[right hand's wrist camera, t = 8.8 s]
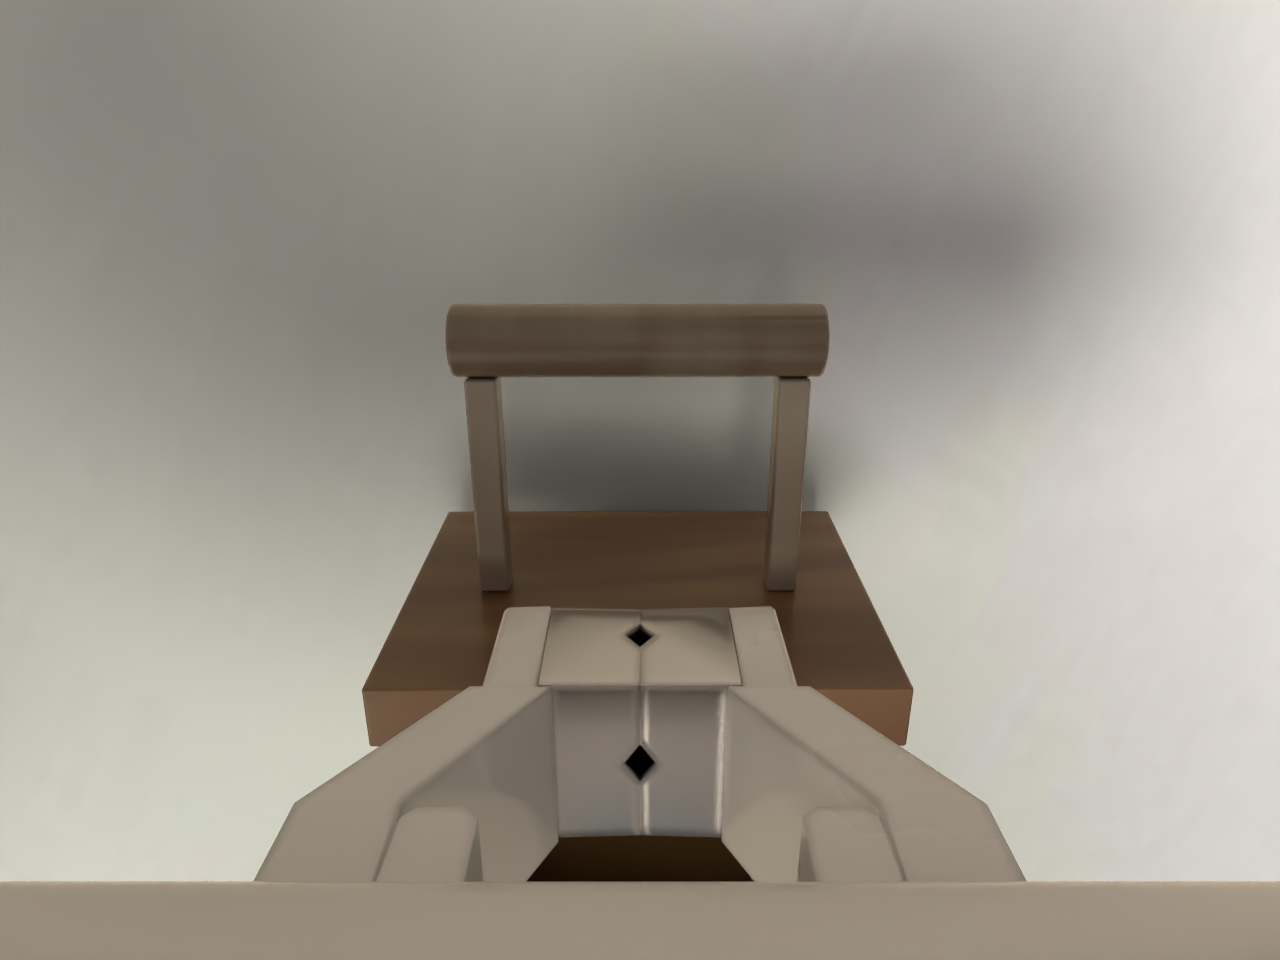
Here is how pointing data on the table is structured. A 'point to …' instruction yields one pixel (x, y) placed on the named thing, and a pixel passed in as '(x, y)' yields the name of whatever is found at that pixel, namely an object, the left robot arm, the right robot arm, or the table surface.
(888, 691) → the drawer
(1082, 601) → the table surface
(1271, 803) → the table surface
